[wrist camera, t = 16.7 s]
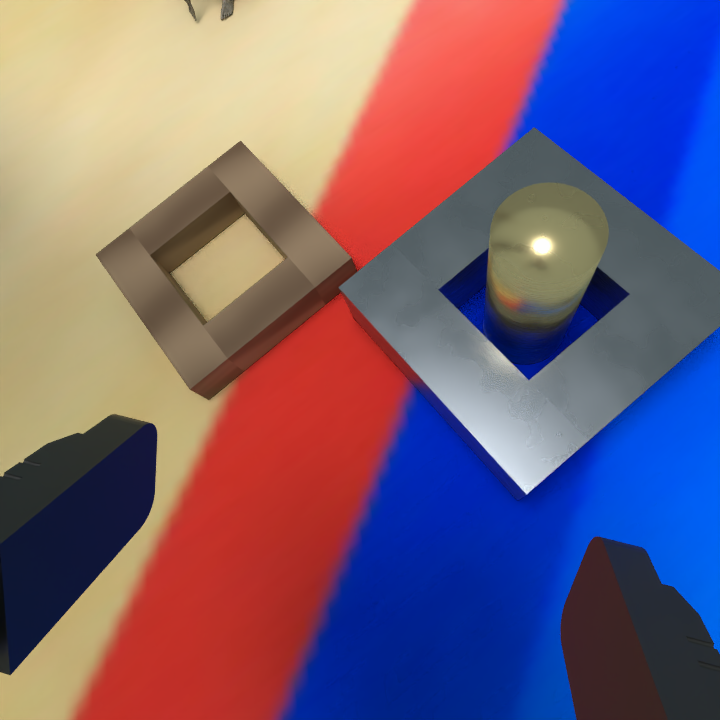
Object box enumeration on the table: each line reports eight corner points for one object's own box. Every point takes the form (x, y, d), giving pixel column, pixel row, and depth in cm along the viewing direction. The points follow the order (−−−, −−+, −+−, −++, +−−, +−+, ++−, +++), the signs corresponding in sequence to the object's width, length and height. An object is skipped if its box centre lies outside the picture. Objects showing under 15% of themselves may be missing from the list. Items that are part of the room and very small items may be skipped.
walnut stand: (118, 272, 38) (95, 254, 36) (254, 164, 39) (240, 140, 37) (208, 399, 34) (189, 389, 32) (359, 276, 35) (351, 257, 32)
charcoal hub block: (354, 318, 34) (338, 287, 30) (526, 177, 35) (534, 127, 31) (517, 500, 29) (526, 494, 25) (712, 331, 30) (753, 297, 26)
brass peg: (466, 325, 32) (466, 230, 23) (524, 276, 33) (549, 163, 23) (521, 380, 31) (547, 304, 21) (581, 329, 31) (634, 231, 21)
